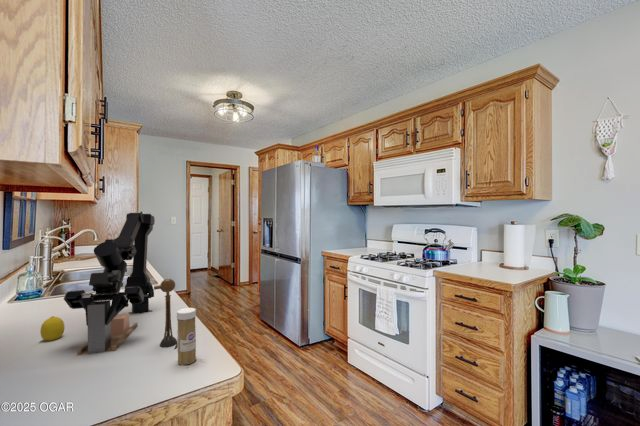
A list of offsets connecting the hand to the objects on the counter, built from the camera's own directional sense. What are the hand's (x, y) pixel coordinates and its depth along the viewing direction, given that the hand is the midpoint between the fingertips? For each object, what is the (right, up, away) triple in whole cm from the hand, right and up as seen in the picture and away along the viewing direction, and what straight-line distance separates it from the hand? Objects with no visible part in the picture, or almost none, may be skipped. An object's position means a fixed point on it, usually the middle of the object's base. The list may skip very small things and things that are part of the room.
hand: (97, 324), depth 83 cm
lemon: (-21, -9, +10) cm, 25 cm away
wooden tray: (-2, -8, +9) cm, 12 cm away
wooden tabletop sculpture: (+17, -8, +4) cm, 19 cm away
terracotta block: (-4, -7, +14) cm, 16 cm away
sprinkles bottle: (+26, -8, -4) cm, 28 cm away
